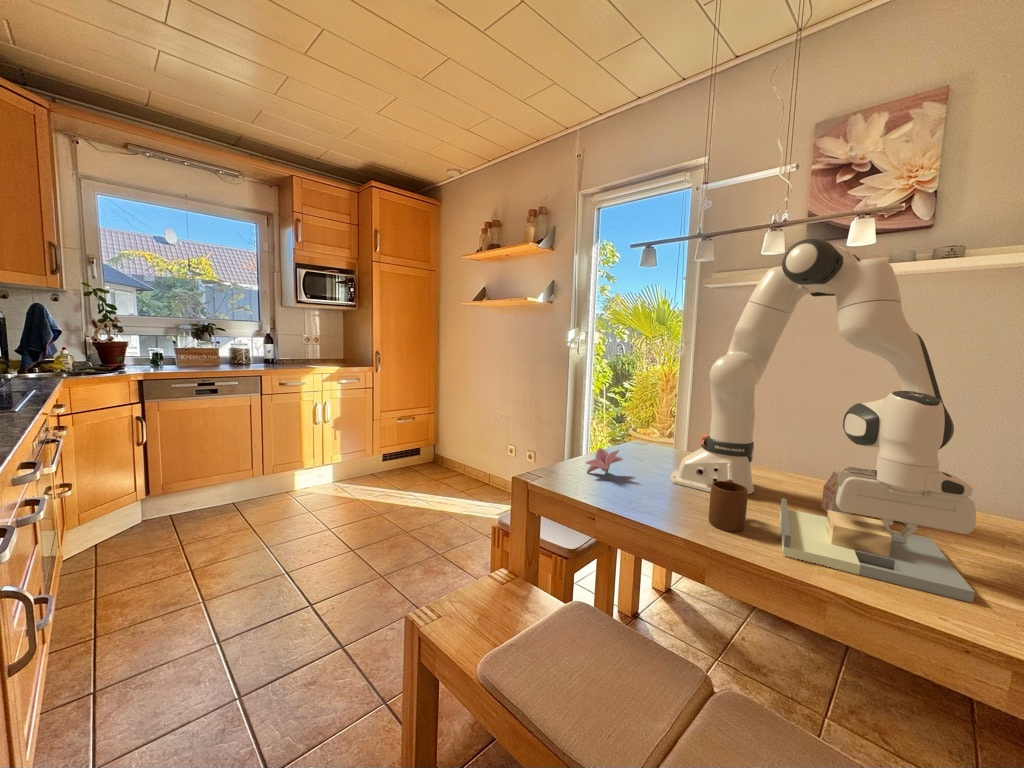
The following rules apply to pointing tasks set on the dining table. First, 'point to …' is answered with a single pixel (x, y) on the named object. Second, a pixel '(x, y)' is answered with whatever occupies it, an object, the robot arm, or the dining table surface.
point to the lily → (603, 460)
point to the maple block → (858, 533)
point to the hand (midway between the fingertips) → (895, 541)
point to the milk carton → (831, 495)
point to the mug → (728, 505)
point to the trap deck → (873, 557)
